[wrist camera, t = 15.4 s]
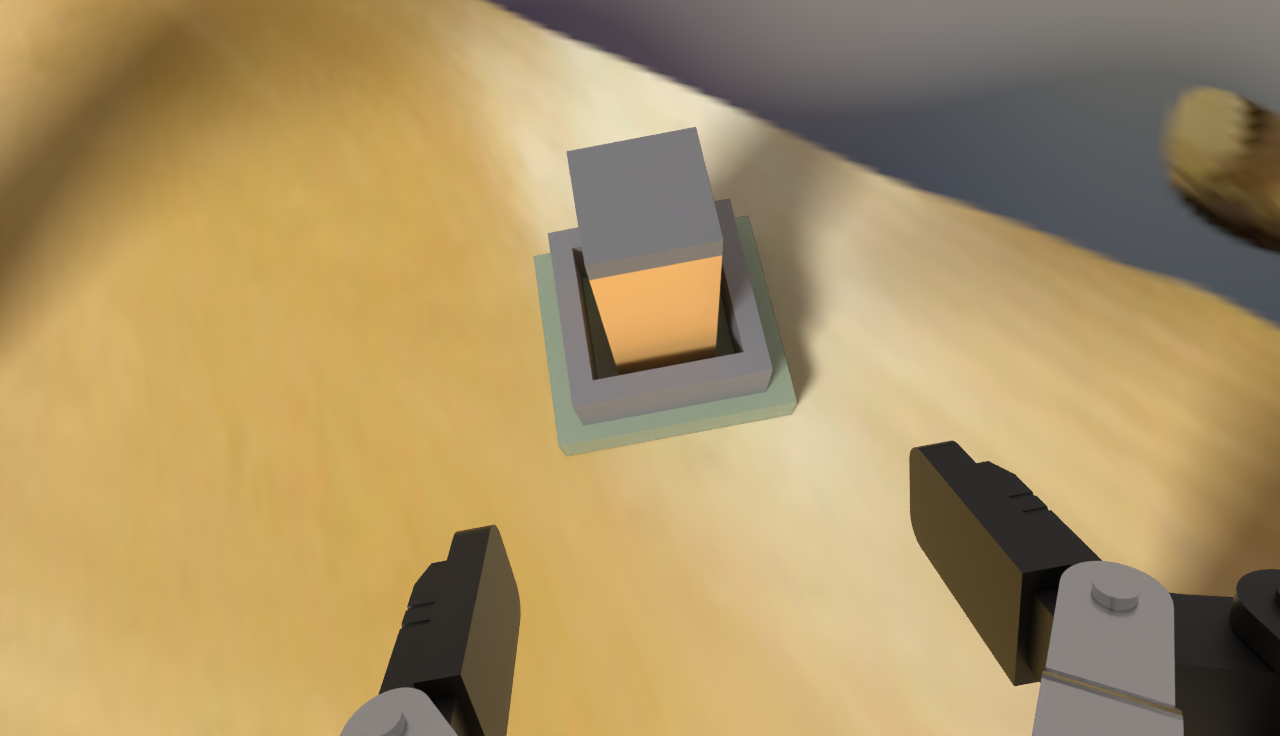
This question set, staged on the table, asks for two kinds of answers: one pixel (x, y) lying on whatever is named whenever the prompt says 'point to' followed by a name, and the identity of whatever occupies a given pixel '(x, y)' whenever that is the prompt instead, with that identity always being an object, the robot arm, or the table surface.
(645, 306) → the grey-capped square pillar
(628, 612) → the table surface
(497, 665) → the robot arm
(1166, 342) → the table surface
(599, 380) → the grey square tray
